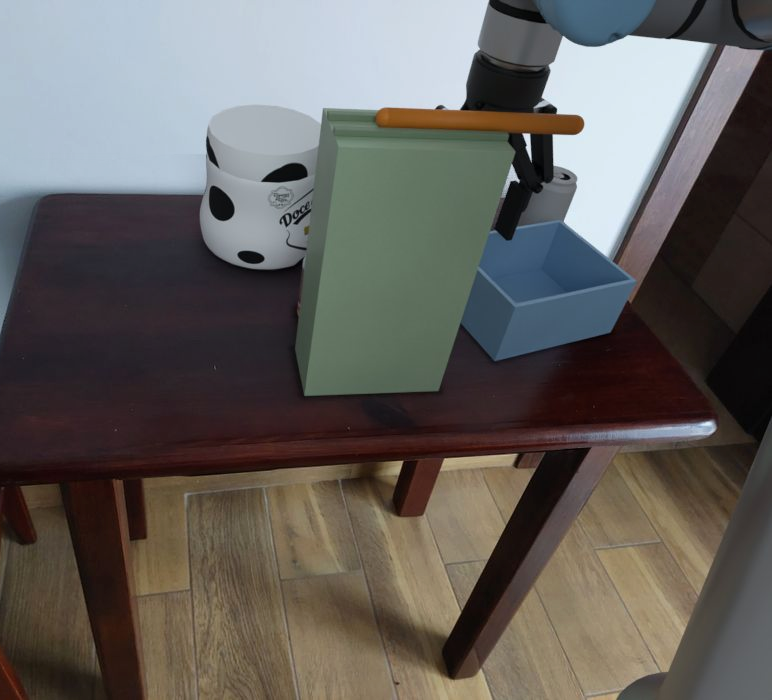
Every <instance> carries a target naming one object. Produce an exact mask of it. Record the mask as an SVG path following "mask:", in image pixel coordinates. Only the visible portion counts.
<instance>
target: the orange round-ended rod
mask: <svg viewBox="0 0 772 700" xmlns="http://www.w3.org/2000/svg"><path fill="white" fill-rule="evenodd" d="M378 110H379V111H378V112H377V114H376V118H375V119H376V123H377V125H378V126H379V127H385V128H414V129H444V130H473V131H503V132H507V133H523V135H524V134H525V135H527V134H528V135H530V134H553V136H554V135H557V136H577V135H578V134H580V133H582V132H583V130H584V128H585V120H584V118H583V116H580V115H579V114H566V113H565V114H563V113H557V114H542V113H516V112H491V111H465V110H460V109H448V110H440V109H435V108H412V107H382V108H380V109H378Z"/></svg>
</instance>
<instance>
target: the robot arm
mask: <svg viewBox="0 0 772 700" xmlns="http://www.w3.org/2000/svg"><path fill="white" fill-rule="evenodd" d="M486 5H487V6H486V9H485V13H484V17H483V20H482V25H481V27H480V28H481V29H480V31H479V34H478V35H479V36H478V39H477V47H478V48H479V49H478V50H476V52H475V53H473V57H472V61H471V65H470V68H469V71H468V74H467V75H468V76H467V79H466V82H465V92H466V93H465V94H466V96H465V101H464V102H463V104H462V106H461V107H460V108H459V110H465V111H491V112H516V113H542V114H558V108H557V107H556V106H555V105H553V104H552V103H551V102H549V101H548V100H546V99H545V98H543V94H544V92H545V88H546V87H547V83H548V81H549V77H550V75H551V67H550V65H551V64H552V63H554V62H555V61H556V58H557V55H558V52H559V49H560V47H561V43H562V40H563V38H565V39H567V40H568V41H570V42H571V43H573V44H575V45H577V46H578V45H579V46H582V47H586V48H598V47H599V48H600V47H603V46H606V45H609V44H613V43H615V42H617V41H619V40H623V39H624V38H626V37H628V36H629V37H641V38H650V39H659V40H662V39H664V40H677V41H678V40H679V41H685V42H694V43H702V44H711V45H721V46H726V47H735V48H738V49H742V50H748V51H767V50H768V51H769V50H772V0H488V2H487V4H486ZM434 109H440V110H449V108H447V107H446V106H444V105H443V104H439V105H437V106H436V107H435V108H434ZM508 134H509V138H508V141H507V142H508V143H509V144H510V145H511V147H512V148H513V149H514V150H515V155H514V158H513V161H512V165H511V166H512V168H513V170H514V173H515V175H516V177H517V179H518V181H517V180H510V181H509V184H508V188H507V190H506V193H505V196H504V199H503V202H502V205H501V208H500V209H499V210H500V211H499V214H498V216H497V219H496V222H495V224H494V228H493V229H494V230H496V231H497V232H498V233H499V234H500V235H501V236H502V237H503V238H504V239H505V240H506V241H509V240H512V238H513V235H514V233H515V230H516V227H517V225H518V222H519V219H520V217H521V214H522V212H524V211H525V210H526V208H527V206H528V203H529V200H530V198H531V196H532V193H533V192H534V193H535V194H538V193H540V192H541V191H542V189H543V185H542V184H541V183H543V182H545V183H546V184H548V183H550V182H551V181H552V180H553V178H554V166H555V165H554V135H553V134H529V139H530V140H529V141H530V155H529V153H528V152H529V151H528V150H527V146H528V145H527V141H526V139H525V136H524V134H523V133H508ZM749 469H750V470H749V471H748V474H747V477H746V479H745V482H744V484H743V487H742V489H741V491H740V493H739V497H738V499H737V501H736V504H735V506H734V509H733V511H732V513H731V516H730V518H729V521H728V523H727V526H726V528H725V530H724V533H723V536H722V538H721V540H720V543H719V546H718V548H717V551H716V552H715V555H714V558H713V561H712V562H711V565H710V567H709V570H708V573H707V575H706V578H705V580H704V582H703V584H702V587H701V589H700V592H699V595H698V597H697V599H696V602H695V605H694V607H693V609H692V612H691V615H690V616H689V619H688V622H687V624H686V627H685V629H684V631H683V634H682V637H681V639H680V641H679V644H678V646H677V649H676V651H675V654H674V655H673V656H674V657H673V659H672V661H671V664H670V666H669V669H668V671H661V672H655V673H651V674H647V675H645V676H643V677H640V678H637V679H636V680H634V681H632V682H631V683H629V684H628V685H627V686H626V687H625V688H624V689H622V691H620V692H619V693H618V695H617V697H616V699H615V700H772V416H771V418H770V420H769V422H768V425H767V427H766V430H765V432H764V435H763V438H762V440H761V442H760V445H759V447H758V449H757V452H756V454H755V457H754V459H753V462H752V463H751V466H750V468H749Z"/></svg>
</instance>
